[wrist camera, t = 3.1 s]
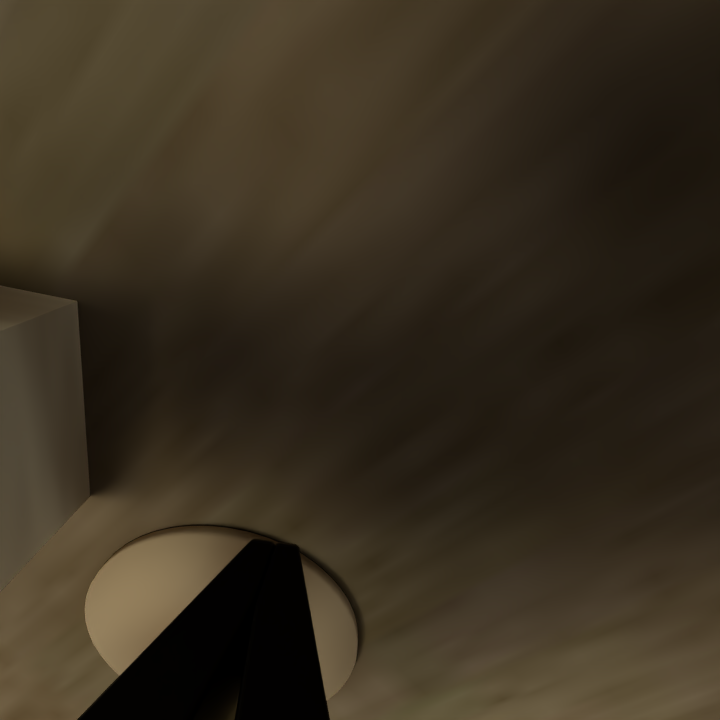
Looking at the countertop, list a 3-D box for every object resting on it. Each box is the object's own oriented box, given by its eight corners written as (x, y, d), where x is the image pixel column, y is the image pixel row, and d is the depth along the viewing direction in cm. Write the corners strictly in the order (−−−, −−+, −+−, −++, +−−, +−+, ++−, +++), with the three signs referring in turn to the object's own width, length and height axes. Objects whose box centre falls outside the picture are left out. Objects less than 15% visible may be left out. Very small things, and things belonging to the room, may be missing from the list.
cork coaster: (378, 550, 13) (378, 561, 12) (339, 724, 16) (338, 737, 16) (78, 504, 13) (69, 514, 12) (104, 689, 16) (97, 701, 16)
